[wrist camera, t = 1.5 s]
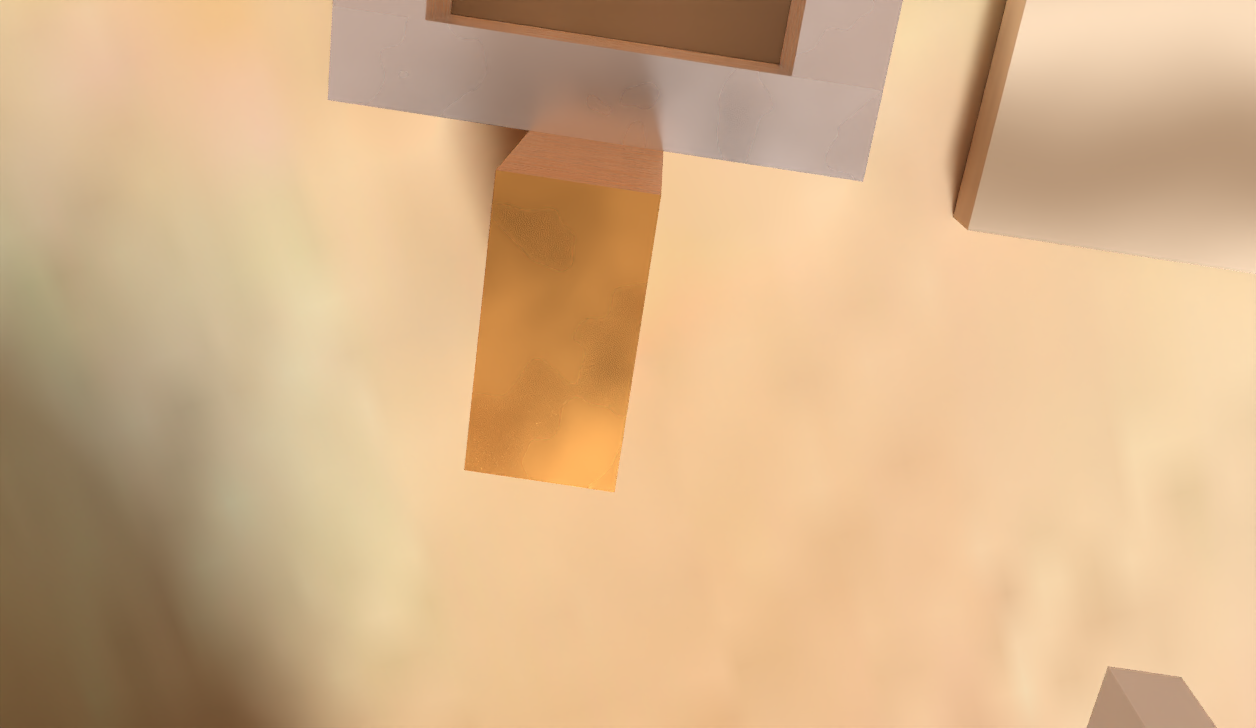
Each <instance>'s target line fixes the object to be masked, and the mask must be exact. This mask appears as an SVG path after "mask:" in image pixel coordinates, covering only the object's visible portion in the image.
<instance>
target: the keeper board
mask: <svg viewBox="0 0 1256 728" xmlns="http://www.w3.org/2000/svg"><path fill="white" fill-rule="evenodd" d="M953 217H954V218H955V219H956V220H957V221H958V222H959V223H960V224H962V225H963V226H964V227H965V228H966V229H967V230H970V231H977V232H983V233H990V234H996V235H1003V236H1010V237H1016V238H1023V239H1029V240H1036V241H1042V242H1049V243H1056V244H1062V245H1069V246H1075V247H1082V248H1088V249H1095V250H1102V251H1108V252H1115V253H1121V254H1128V255H1134V256H1141V257H1148V258H1154V259H1161V260H1167V261H1174V262H1181V263H1187V264H1194V265H1200V266H1207V267H1213V268H1220V269H1227V270H1233V271H1240V272H1246V273H1253V274H1256V0H1007V2H1006V6H1005V10H1004V14H1003V18H1002V22H1001V26H1000V30H999V34H998V38H997V42H996V46H995V50H994V54H993V58H992V62H991V66H990V70H989V74H988V78H987V82H986V86H985V90H984V94H983V98H982V102H981V106H980V110H979V114H978V118H977V122H976V126H975V130H974V134H973V138H972V142H971V146H970V150H969V154H968V158H967V162H966V166H965V170H964V174H963V178H962V183H961V187H960V191H959V195H958V199H957V203H956V207H955V211H954V215H953Z"/></svg>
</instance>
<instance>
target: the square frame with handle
mask: <svg viewBox="0 0 1256 728" xmlns="http://www.w3.org/2000/svg"><path fill="white" fill-rule="evenodd" d="M902 1H903V0H791V4H790V10H789V15H788V21H787V26H786V31H785V37H784V42H783V47H782V53H781V58H780V63H779V65H778V64H772V63H765V62H759V61H752V60H746V59H739V58H733V57H726V56H720V55H713V54H707V53H700V52H694V51H687V50H681V49H674V48H668V47H661V46H655V45H648V44H642V43H635V42H629V41H622V40H616V39H609V38H603V37H596V36H590V35H583V34H577V33H570V32H564V31H557V30H551V29H544V28H538V27H531V26H525V25H518V24H512V23H505V22H499V21H492V20H486V19H479V18H473V17H466V16H460V15H453V14H451V9H452V0H333V11H332V31H331V50H330V69H329V89H328V100H332V101H338V102H345V103H351V104H358V105H365V106H371V107H378V108H384V109H391V110H397V111H404V112H410V113H417V114H424V115H430V116H437V117H443V118H450V119H456V120H463V121H470V122H476V123H483V124H489V125H496V126H502V127H509V128H515V129H522V130H529V132H528V133H527V134H526V135H525V136H524V138H523V139H522V140H521V141H520V142H519V143H518V145H517V146H516V147H515V148H514V149H513V150H512V152H511V153H510V154H509V155H508V156H507V158H506V159H505V160H504V161H503V162H502V163H501V165H500V166H499V167H498V168H497V169H496V173H495V182H494V192H493V201H492V211H491V220H490V230H489V240H488V249H487V259H486V268H485V278H484V287H483V297H482V306H481V316H480V326H479V335H478V345H477V354H476V364H475V373H474V383H473V392H472V402H471V411H470V421H469V431H468V440H467V450H466V459H465V469H464V470H468V471H475V472H482V473H488V474H495V475H502V476H509V477H515V478H522V479H529V480H536V481H542V482H549V483H556V484H563V485H569V486H576V487H583V488H590V489H596V490H603V491H610V492H615V485H616V479H617V472H618V466H619V460H620V453H621V447H622V441H623V434H624V428H625V421H626V415H627V409H628V402H629V396H630V390H631V383H632V377H633V371H634V364H635V358H636V351H637V345H638V339H639V332H640V326H641V320H642V313H643V307H644V301H645V294H646V288H647V281H648V275H649V269H650V262H651V256H652V250H653V243H654V237H655V230H656V224H657V218H658V211H659V205H660V199H661V186H662V166H663V151H666V152H673V153H679V154H686V155H692V156H699V157H706V158H712V159H719V160H725V161H732V162H738V163H745V164H751V165H758V166H765V167H771V168H778V169H784V170H791V171H797V172H804V173H810V174H817V175H824V176H830V177H837V178H843V179H850V180H856V181H863V179H864V175H865V170H866V166H867V161H868V157H869V152H870V147H871V143H872V138H873V134H874V129H875V125H876V120H877V116H878V111H879V106H880V102H881V97H882V93H883V88H884V84H885V79H886V74H887V70H888V65H889V61H890V56H891V52H892V47H893V42H894V38H895V33H896V29H897V24H898V20H899V15H900V11H901V6H902Z"/></svg>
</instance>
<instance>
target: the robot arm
mask: <svg viewBox="0 0 1256 728" xmlns="http://www.w3.org/2000/svg"><path fill="white" fill-rule="evenodd" d="M1087 728H1217V727H1216V726H1215V725H1214V723H1213V722H1212V720H1211V719H1210V717H1209V716H1208V715H1207V713H1206V712H1205V710H1204V709H1203V707H1202V706H1201V705H1200V703H1199V702H1198V700H1197V699H1196V698H1195V696H1194V695H1193V693H1192V692H1191V690H1190V689H1189V688H1188V686H1187V685H1186V683H1185V682H1184V681H1183V679H1182V678H1181V677H1176V676H1170V675H1163V674H1156V673H1149V672H1143V671H1136V670H1129V669H1122V668H1115V667H1109V666H1108V668H1107V671H1106V674H1105V677H1104V680H1103V682H1102V685H1101V688H1100V691H1099V694H1098V697H1097V700H1096V702H1095V705H1094V708H1093V711H1092V714H1091V717H1090V720H1089V723H1088V725H1087Z"/></svg>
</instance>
